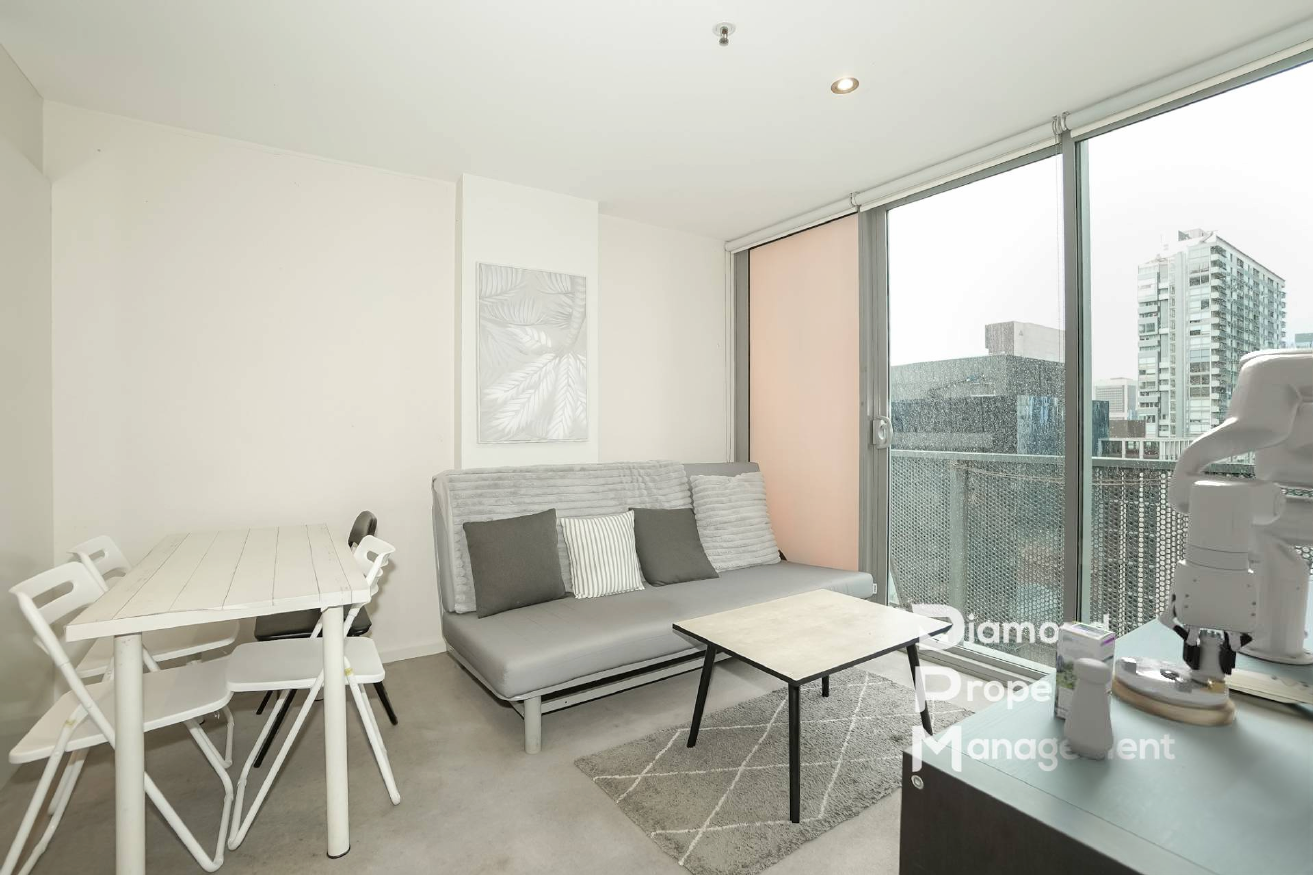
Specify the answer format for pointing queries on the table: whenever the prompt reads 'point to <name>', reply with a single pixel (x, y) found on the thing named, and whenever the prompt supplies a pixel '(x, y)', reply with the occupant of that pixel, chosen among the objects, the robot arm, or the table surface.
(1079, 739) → the salt shaker
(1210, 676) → the rook chess piece
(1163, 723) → the table surface
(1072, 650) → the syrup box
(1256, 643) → the robot arm
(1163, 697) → the white round board
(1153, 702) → the tan flat disc
